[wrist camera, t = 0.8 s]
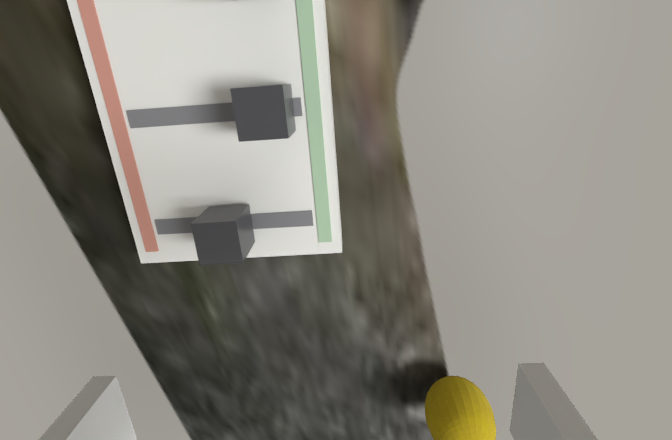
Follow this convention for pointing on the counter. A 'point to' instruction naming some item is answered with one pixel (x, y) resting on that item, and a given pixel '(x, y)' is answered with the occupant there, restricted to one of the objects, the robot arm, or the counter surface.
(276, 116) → the block
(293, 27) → the breaker panel
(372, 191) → the counter surface
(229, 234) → the switch
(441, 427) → the lemon
